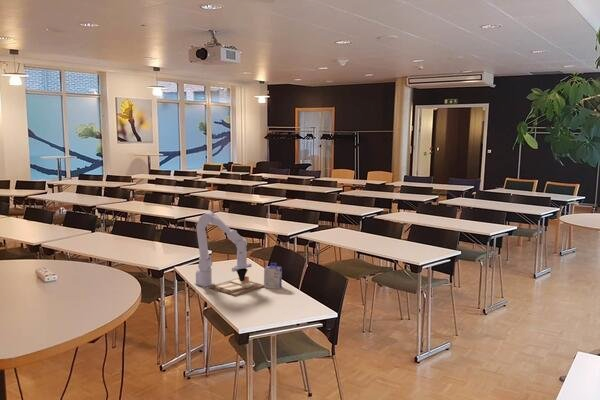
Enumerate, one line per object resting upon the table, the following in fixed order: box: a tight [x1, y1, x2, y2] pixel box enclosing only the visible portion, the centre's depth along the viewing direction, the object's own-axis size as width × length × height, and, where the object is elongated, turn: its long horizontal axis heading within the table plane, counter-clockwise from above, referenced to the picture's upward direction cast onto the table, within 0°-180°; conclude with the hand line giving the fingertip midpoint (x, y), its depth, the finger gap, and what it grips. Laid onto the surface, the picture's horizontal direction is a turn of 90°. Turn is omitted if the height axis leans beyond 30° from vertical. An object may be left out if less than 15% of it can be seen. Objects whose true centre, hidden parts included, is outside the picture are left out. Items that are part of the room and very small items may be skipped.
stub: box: [229, 275, 254, 288], centre depth 297 cm, size 14×6×5 cm, turn 51°
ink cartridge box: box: [263, 262, 283, 290], centre depth 296 cm, size 10×6×14 cm, turn 78°
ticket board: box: [208, 277, 264, 297], centre depth 294 cm, size 22×24×2 cm
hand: (241, 280), depth 297 cm, fingers closed
